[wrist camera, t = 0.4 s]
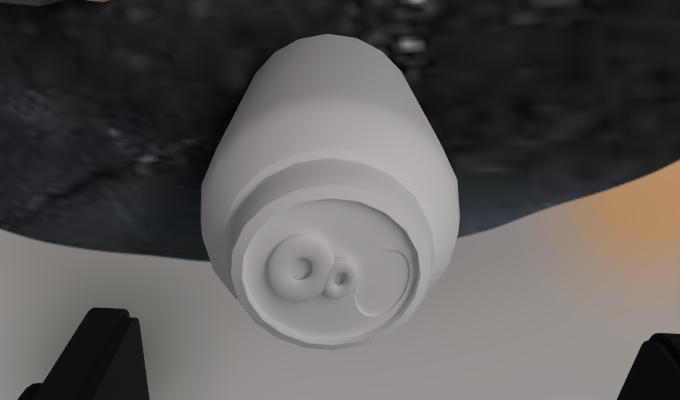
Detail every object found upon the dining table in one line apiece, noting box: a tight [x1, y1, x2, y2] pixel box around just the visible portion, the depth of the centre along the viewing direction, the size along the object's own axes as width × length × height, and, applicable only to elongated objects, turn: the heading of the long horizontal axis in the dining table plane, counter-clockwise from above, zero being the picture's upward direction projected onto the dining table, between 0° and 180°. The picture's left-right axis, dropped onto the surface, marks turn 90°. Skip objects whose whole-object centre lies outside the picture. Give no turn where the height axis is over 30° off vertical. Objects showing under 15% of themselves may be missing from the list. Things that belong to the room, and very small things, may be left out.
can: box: [201, 34, 460, 350], centre depth 29 cm, size 12×12×20 cm
